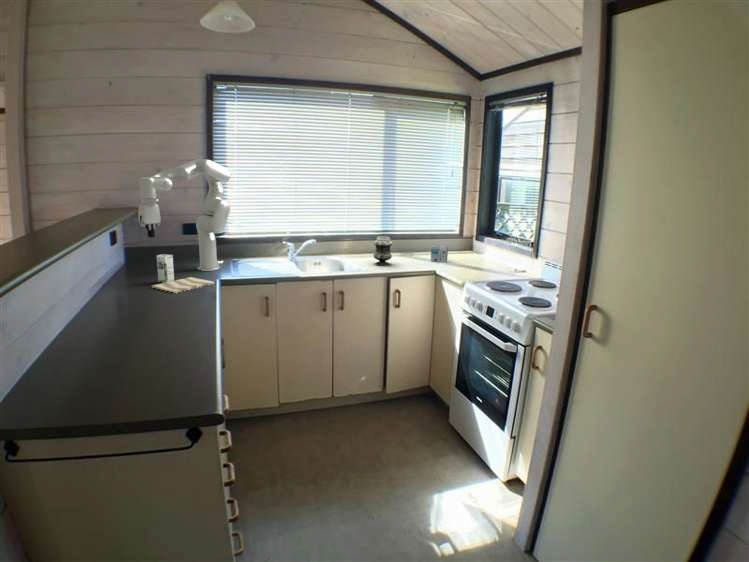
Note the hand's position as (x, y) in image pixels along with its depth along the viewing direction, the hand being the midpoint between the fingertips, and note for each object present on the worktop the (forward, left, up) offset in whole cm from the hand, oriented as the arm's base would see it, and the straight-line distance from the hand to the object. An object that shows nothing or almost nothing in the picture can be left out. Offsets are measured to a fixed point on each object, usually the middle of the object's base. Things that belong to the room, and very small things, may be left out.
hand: (151, 237), depth 249 cm
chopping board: (0, +23, -23) cm, 32 cm away
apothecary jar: (-111, +77, -23) cm, 137 cm away
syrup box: (0, +9, -23) cm, 25 cm away
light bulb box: (-144, +103, -23) cm, 179 cm away
